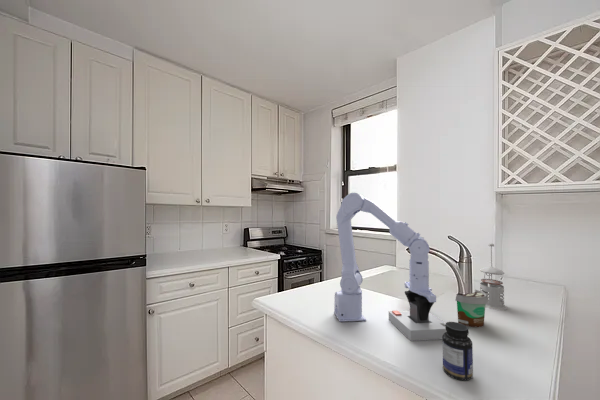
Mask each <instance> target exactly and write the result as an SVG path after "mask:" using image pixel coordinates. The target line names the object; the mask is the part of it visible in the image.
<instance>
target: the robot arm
mask: <svg viewBox="0 0 600 400" xmlns="http://www.w3.org/2000/svg"><path fill="white" fill-rule="evenodd" d="M359 212H363V213H364V212H365V213H367V214H368V213H369V214H371V215H372V216H374V217H375V218H376V219H377V220H378V221H380V222H381V223H383V224H384V226H386V227H388V229H389V234H390V235H391V236H392V237H393V238H394V239H396V240H397V241H398V242H399V243H400V244H401V245H402V246H404V247H408V250H409V253H410V255H409V256H410V258H409V259H408V260H409V270H408V271H409V281H404V288H405V289H408V290H405V291H404V295H405V296H406V298H407V302H408V301H409V302H408V304H409V306H410V302H415V301H416V302H417V305H418V311H419V318H420V320H421V321H424V320H427V318H428V315H429V312H430V311H431V309H432V307H433V305H434V304H435V303H437V295H436V294H435V293H433V292H432V290H433V289H432V287H430V278H429V277H430V274H429V271H430V262H429V253H430V250H431V249H430V245H429V243H428V242H427V240H426V239H425V237H422V236H421V233H420V232H416V231H414V229H412V228H411V227H410V226H409V223H408V222H406V221H405V222H404V221H402V220H395V219H394V218H393V217H392V216H390V215H389V214H388V213H387V212H386V211H384V210H383V209H382V208H381V206H379V205H378V204H377V203H375V202H374V201H372V200H371V199H369V198H368V197H366V196H364V195H363V194H361V193H357V192H350V193H348V194H347V195H345V197H343V199H342V200H341V205H340V207H339V209H338V211H337V214H336V223H337V224H336V225H337V232H338V239H339V241H338V242H339V249H340V255H341V263H342V265H341V266H342V267H341V279H340V282H339V284H340V285H339V286H340V288H341V290H339V291H335V292H334V303H333V305H334V306H333V307H334V311H333V313H334V315H335V317H336V318H337V319H338V322H342V323H343V322H361V321H367V318H366V317H365V316H364V315H363V290H362V289H361V285H362V284H363V276H362V273H361V272H360V269H359V265H358V263H357V258H356V257H357V256H356V250H355V242H354V234H353V227H352V219H353V218H354V217H355V216H356V215H357V214H358V213H359ZM430 313H431V312H430Z"/></svg>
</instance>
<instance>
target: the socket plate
mask: <svg viewBox="0 0 600 400" xmlns="http://www.w3.org/2000/svg"><path fill="white" fill-rule="evenodd" d="M388 321H389V322H390V323H391V324H392V325H393V326H395V328H396V329H397V330H399V331H400V332H401V334H403V335H404V336H405V337H406V338H407V339H408V340H409V341H410V342H416V341H417V342H419V341H433V340H435V341H436V340H442V336H443V334H444V333H445V332H447V331H446V329H445V327H446V326H445V324H446V323H447V322H445V321H444V320H443V319H441V318H440V317H438V316H436V315H435V314H434V313H431V312H429V323H415V322H414V321H413V320H411V319H410V310H390V311H388Z"/></svg>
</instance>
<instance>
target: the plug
mask: <svg viewBox="0 0 600 400" xmlns="http://www.w3.org/2000/svg"><path fill="white" fill-rule="evenodd" d="M409 311H410V319H411V320H413V321H414V322H415V323H429V315H428V318H427V320H424V321H421V320H420V318H419V311H418V305H417V302H416V301H415V302H410V305H409Z"/></svg>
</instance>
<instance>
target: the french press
mask: <svg viewBox="0 0 600 400" xmlns="http://www.w3.org/2000/svg"><path fill="white" fill-rule="evenodd" d="M488 246H489V247H490V266H485V267H482V268H480V269H479V271H480V272H481V273H484V277H483V278H481V279H480V280H481V282H479V286H480V288H479V291H481V292H483V293H485V294H486V296H487V299H488V303H486V304H485V309H486V308H487V309H492V310H497V311H505V310H508V306H506V304H505V287H504V285H503V284H504V283H503V281H501V280H499V279H498V280H496V279H493V275H497V276H501V275H502V276H503V275H504V274H505V272H504V270H502V269H499V268H497V267H494V266H493V263H492V262H493V255H492V254H493V252H492V249H493V248H492V247H495V244H494V243H492V242H490V243H488ZM486 276H487V277H488V278H486Z"/></svg>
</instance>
